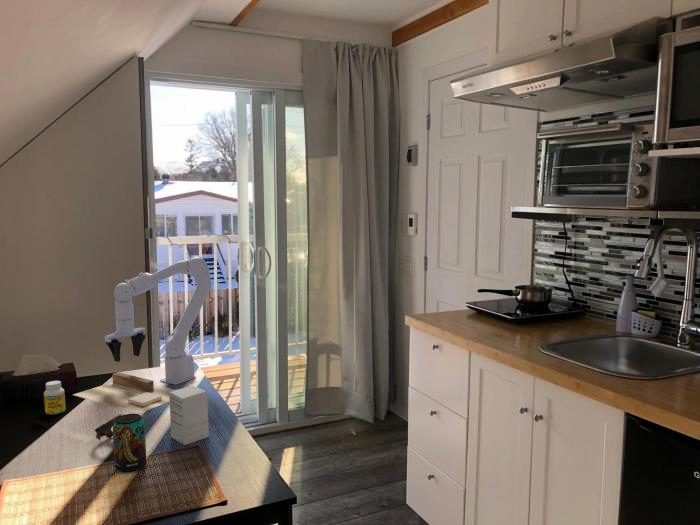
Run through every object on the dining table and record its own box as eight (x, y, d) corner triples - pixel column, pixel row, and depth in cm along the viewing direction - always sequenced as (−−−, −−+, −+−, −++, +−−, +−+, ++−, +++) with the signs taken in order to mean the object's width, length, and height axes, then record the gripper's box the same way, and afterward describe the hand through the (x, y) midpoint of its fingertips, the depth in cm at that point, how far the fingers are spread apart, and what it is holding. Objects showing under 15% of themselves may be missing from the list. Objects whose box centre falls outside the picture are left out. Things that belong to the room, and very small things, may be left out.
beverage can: (115, 476, 130) (112, 425, 129) (114, 463, 137) (111, 415, 135) (147, 470, 133) (145, 420, 132) (145, 458, 139) (143, 410, 138)
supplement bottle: (64, 409, 172) (62, 378, 171) (67, 415, 168) (64, 383, 167) (44, 413, 169) (42, 382, 168) (46, 419, 165) (44, 386, 164)
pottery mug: (114, 456, 142) (97, 427, 142) (102, 461, 148) (86, 434, 148) (155, 429, 150) (139, 402, 150) (141, 435, 157) (126, 409, 157)
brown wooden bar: (119, 381, 196) (118, 372, 195) (153, 390, 186) (153, 380, 186) (112, 383, 194) (112, 374, 193) (147, 392, 184) (147, 382, 184)
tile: (146, 392, 181) (161, 396, 177) (147, 395, 181) (161, 399, 177) (127, 398, 175) (142, 403, 171) (128, 402, 175) (143, 406, 171)
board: (126, 380, 200) (126, 377, 199) (190, 396, 183) (190, 393, 182) (72, 397, 183) (72, 394, 183) (137, 417, 166) (137, 413, 166)
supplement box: (195, 429, 156) (193, 384, 155) (209, 437, 151) (207, 391, 150) (170, 437, 151) (168, 391, 150) (184, 446, 146) (182, 398, 145)
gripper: (135, 313, 200) (137, 351, 201) (98, 321, 188) (100, 361, 189) (148, 315, 196) (150, 354, 198) (111, 323, 184) (113, 365, 186)
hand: (127, 358), depth 193 cm, fingers open, 7 cm apart
